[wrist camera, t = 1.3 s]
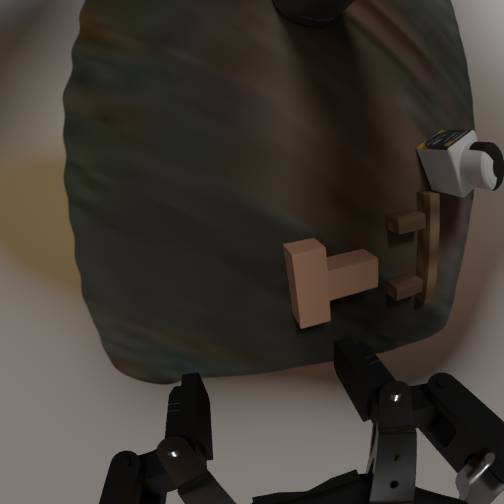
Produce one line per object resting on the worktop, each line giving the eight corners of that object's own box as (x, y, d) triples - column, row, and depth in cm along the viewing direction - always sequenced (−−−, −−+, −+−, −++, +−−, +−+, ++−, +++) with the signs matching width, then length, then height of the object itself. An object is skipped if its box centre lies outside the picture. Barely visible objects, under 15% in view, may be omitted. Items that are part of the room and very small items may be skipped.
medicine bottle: (441, 129, 33) (501, 130, 21) (456, 170, 35) (512, 181, 24) (414, 147, 33) (477, 151, 22) (430, 190, 35) (490, 206, 24)
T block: (283, 244, 35) (291, 254, 31) (362, 227, 36) (377, 235, 32) (292, 313, 38) (300, 328, 34) (363, 293, 39) (377, 306, 35)
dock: (384, 197, 35) (397, 200, 32) (426, 190, 35) (439, 193, 32) (385, 306, 40) (395, 315, 37) (423, 292, 41) (433, 300, 38)
